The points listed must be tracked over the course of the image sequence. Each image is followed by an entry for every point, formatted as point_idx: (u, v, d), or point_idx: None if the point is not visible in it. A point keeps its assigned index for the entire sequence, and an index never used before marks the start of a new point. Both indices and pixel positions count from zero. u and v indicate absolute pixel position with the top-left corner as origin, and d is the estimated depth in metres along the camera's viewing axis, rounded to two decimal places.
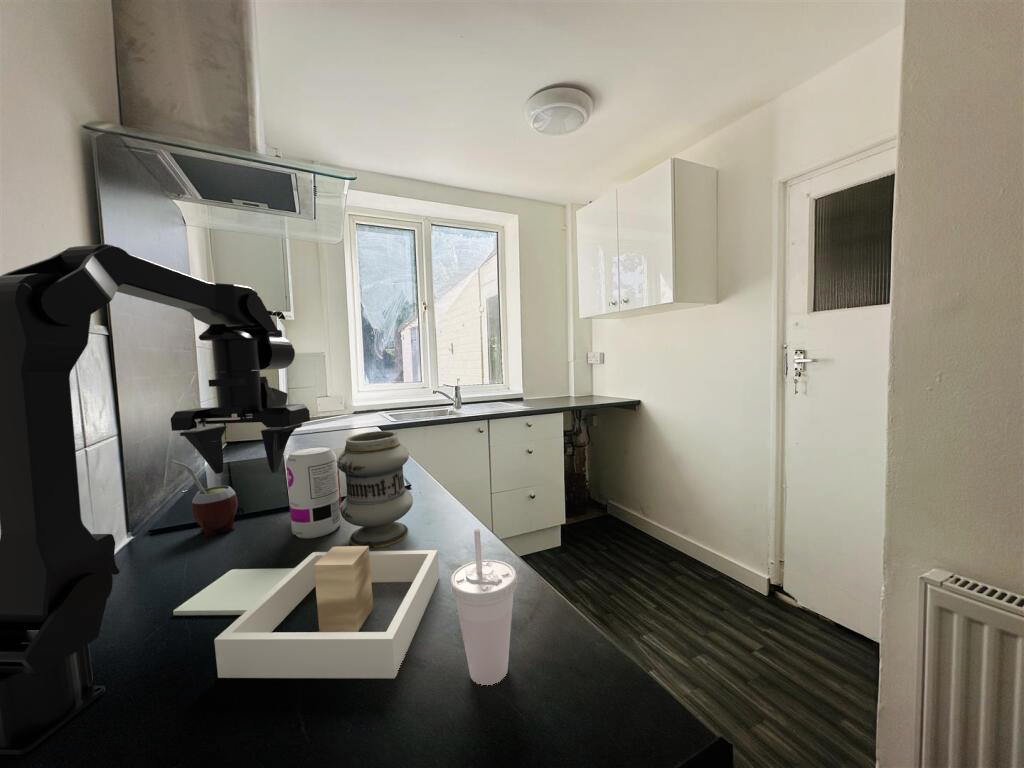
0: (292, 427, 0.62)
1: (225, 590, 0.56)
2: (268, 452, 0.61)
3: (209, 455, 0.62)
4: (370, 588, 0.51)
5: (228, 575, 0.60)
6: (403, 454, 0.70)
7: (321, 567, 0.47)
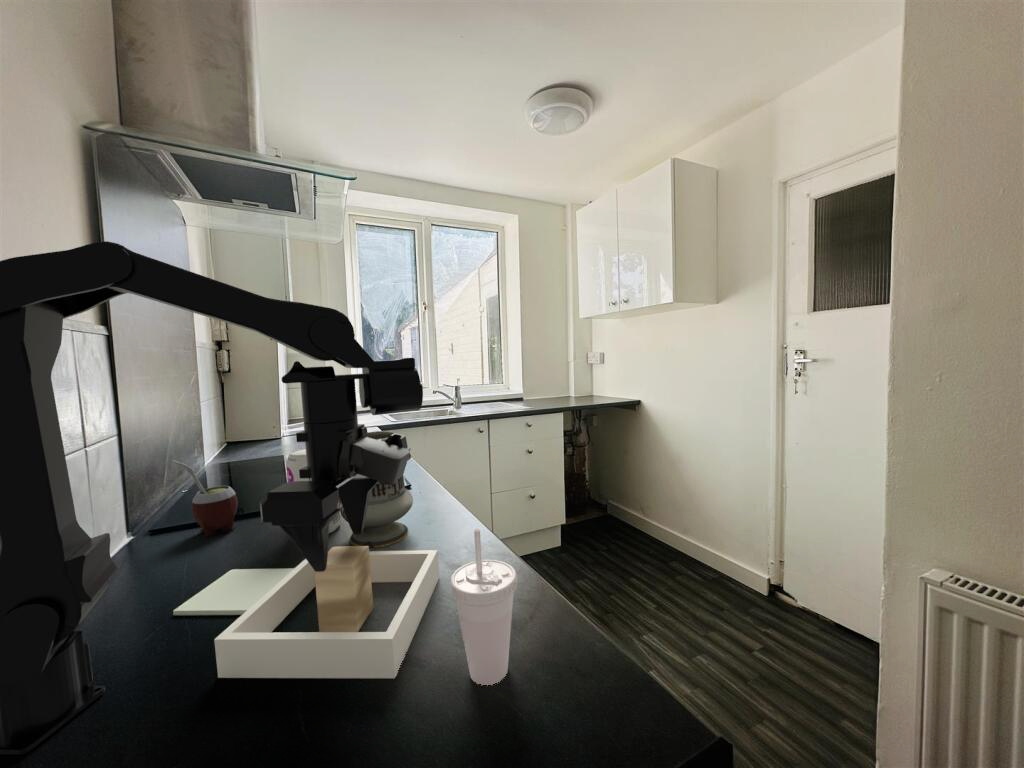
0: (297, 522, 0.40)
1: (225, 590, 0.56)
2: None
3: (346, 509, 0.53)
4: (370, 588, 0.51)
5: (228, 575, 0.60)
6: None
7: None
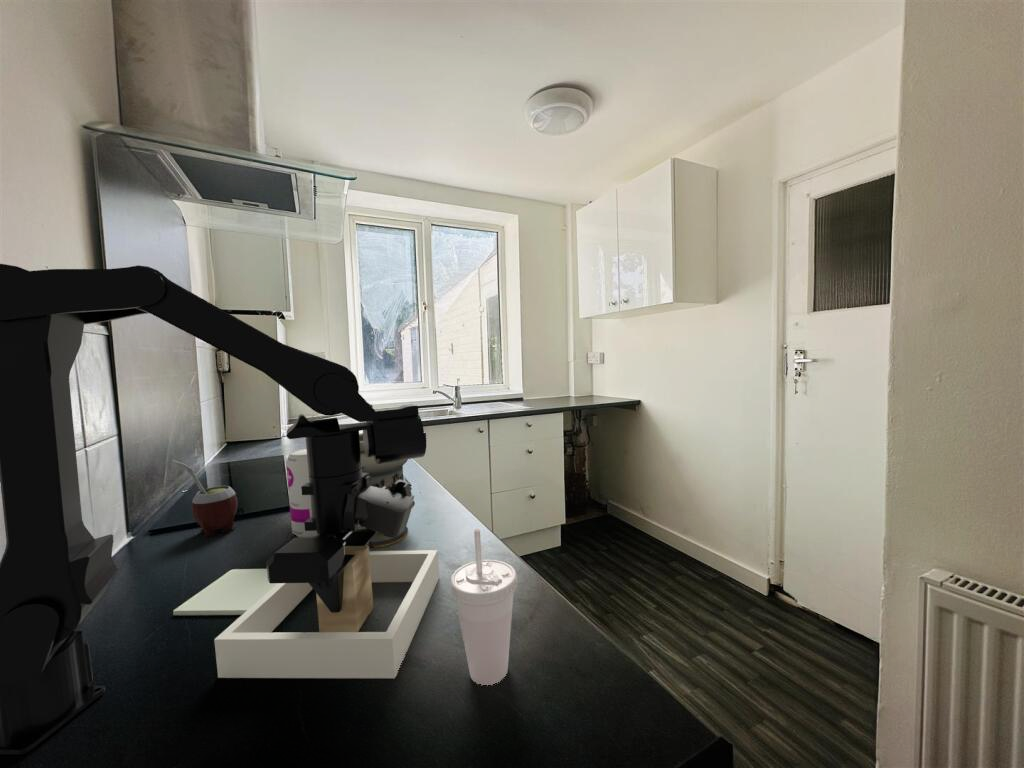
0: None
1: (225, 590, 0.56)
2: None
3: None
4: (370, 588, 0.51)
5: (228, 575, 0.60)
6: None
7: None
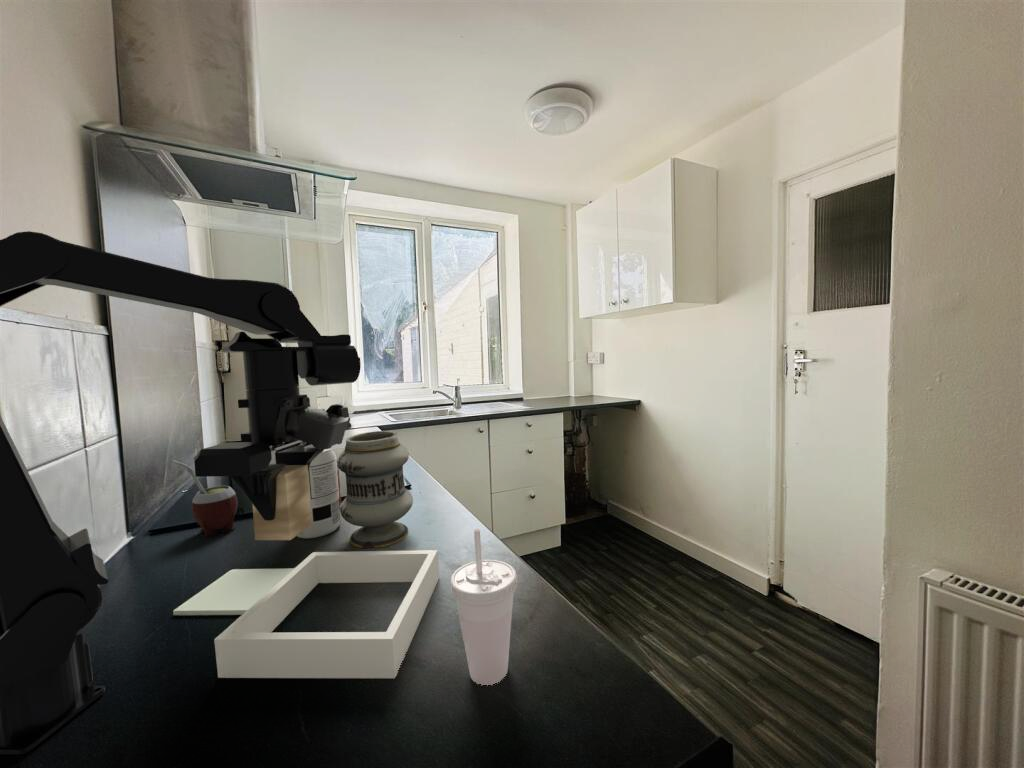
0: None
1: (225, 590, 0.56)
2: None
3: None
4: (308, 505, 0.54)
5: (228, 575, 0.60)
6: (403, 454, 0.70)
7: None
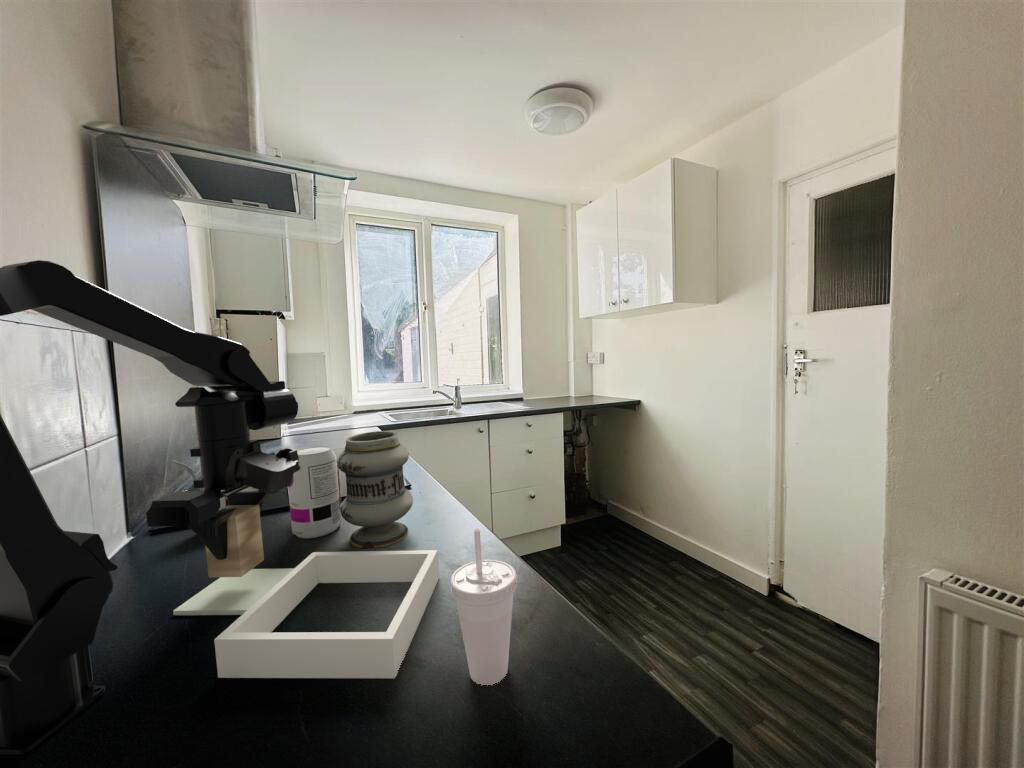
0: None
1: (225, 590, 0.56)
2: None
3: None
4: (260, 542, 0.58)
5: None
6: (403, 454, 0.70)
7: None
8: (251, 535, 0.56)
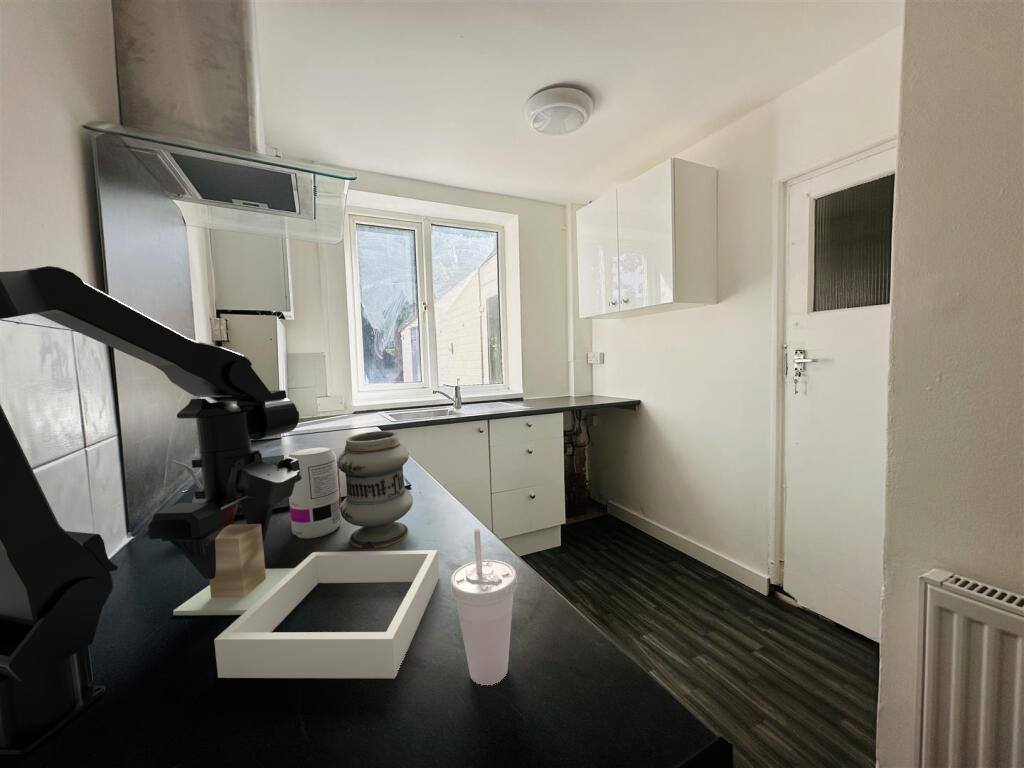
0: (181, 538, 0.48)
1: None
2: None
3: (249, 523, 0.61)
4: (262, 561, 0.58)
5: None
6: (403, 454, 0.70)
7: None
8: (253, 555, 0.56)
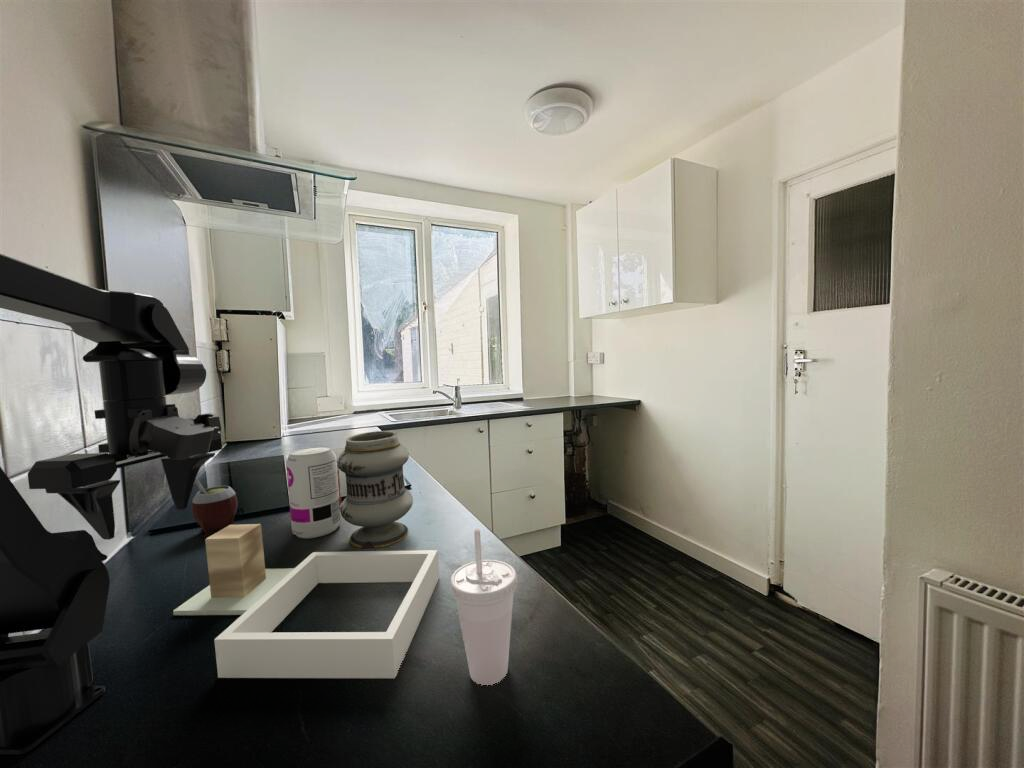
0: (66, 490, 0.43)
1: None
2: None
3: (172, 486, 0.56)
4: (262, 561, 0.58)
5: None
6: (403, 454, 0.70)
7: (211, 541, 0.54)
8: (253, 555, 0.56)
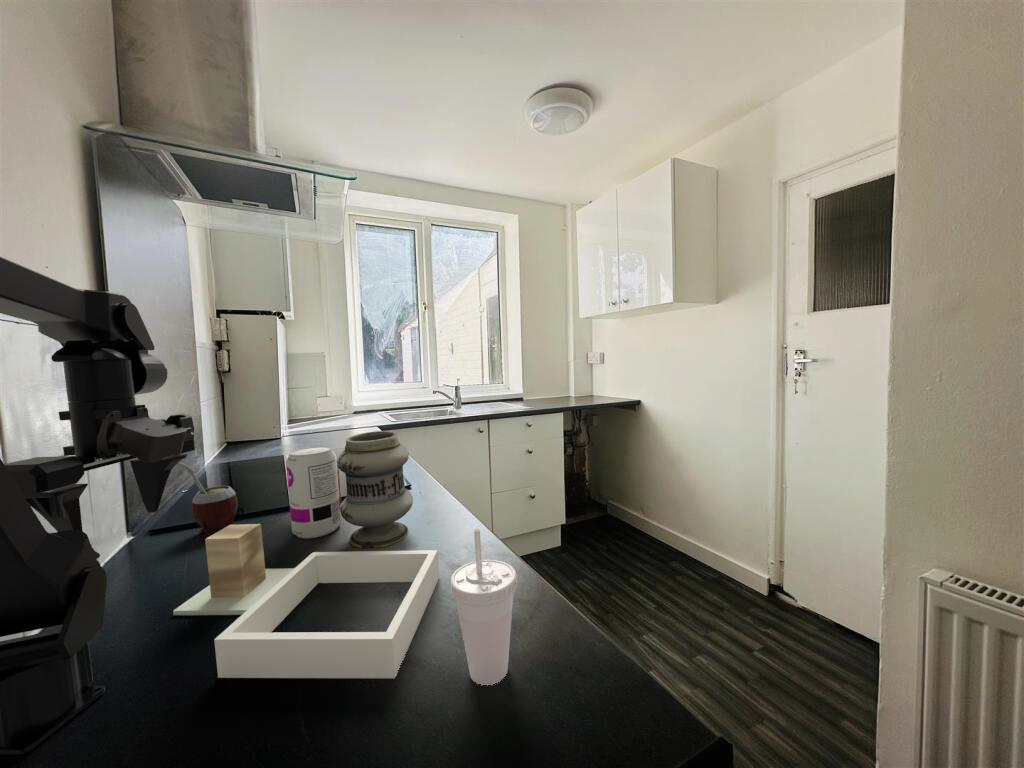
0: (30, 494, 0.42)
1: None
2: None
3: (142, 488, 0.55)
4: (262, 561, 0.58)
5: None
6: (403, 454, 0.70)
7: (211, 541, 0.54)
8: (253, 555, 0.56)
